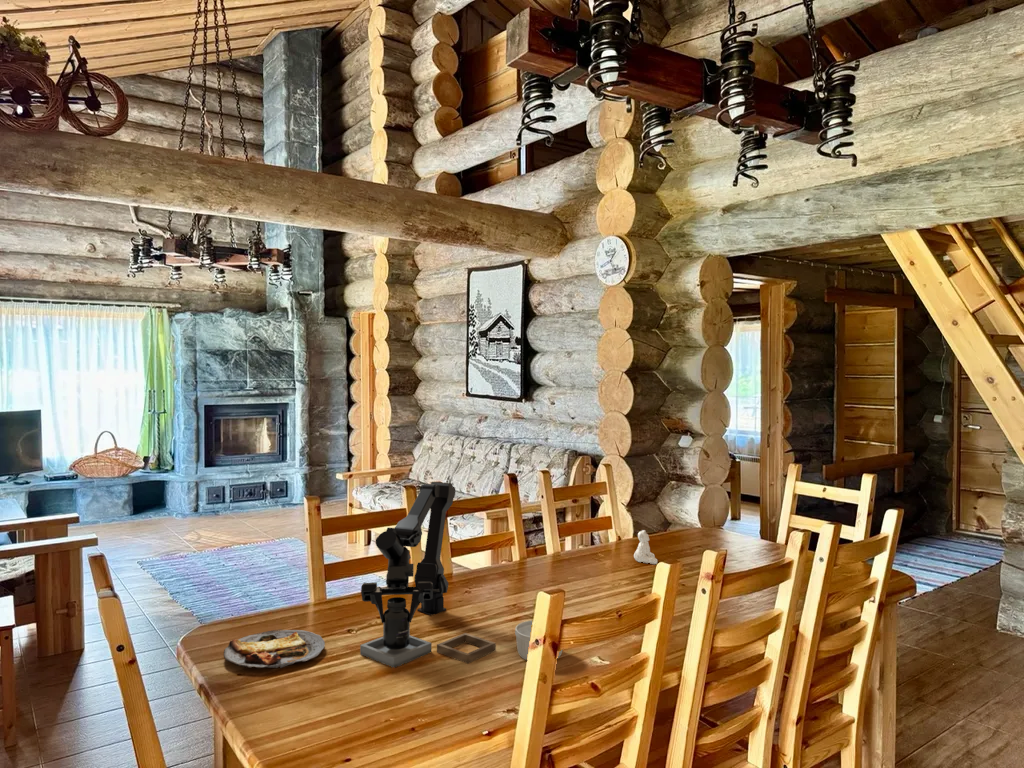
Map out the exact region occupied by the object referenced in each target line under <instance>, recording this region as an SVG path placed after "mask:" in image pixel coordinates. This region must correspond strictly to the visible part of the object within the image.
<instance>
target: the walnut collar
mask: <svg viewBox="0 0 1024 768" xmlns="http://www.w3.org/2000/svg"><path fill="white" fill-rule="evenodd" d="M465 643H467V644H471V645H473V646H476V647H479V648H476V649H474V650H472V651H470V652H468V653H467V652H465V651H462V650H459V649H456V648H455V647H457V646H459V645H462V644H465ZM452 647H453V648H452ZM496 651H497V642H494V641H491V640H488V639H485V638H482V637H479V636H476V635H474V634H470V633H468V632H464V633H462V634H458V635H457V636H454V637H452V638H450V639H447V640H445V641H442V642H439V643H438V644H436V653H438V654H441V655H443V654H444V655H443V656H446V657H449V658H451V657H452V658H451V659H454V658H455V660H457V659H458V660H457V661H460V662H463V663H465V664H469V663H472V662H474V661H476V660H478V659H481V658H483V657H485V656H486V655H489V654H491V653H494V652H496Z"/></svg>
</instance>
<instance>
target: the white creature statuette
mask: <svg viewBox="0 0 1024 768" xmlns="http://www.w3.org/2000/svg"><path fill="white" fill-rule="evenodd" d="M637 538H638V540H639V543H638V545H637V548H636V550H635V551H634V554H633V558H634V560H635V561H636V562H638V563H641V562H643V563H642V564H648V563H650V564H649V565H657V564H658V559H657V558H656V557H655V554H654V553H653V552H651V547H650V544H649V541H650V536H649V534H648V533H647V532H646V530H645V529H642V530H640V531H639V532H638V533H637Z"/></svg>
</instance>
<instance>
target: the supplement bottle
mask: <svg viewBox="0 0 1024 768" xmlns="http://www.w3.org/2000/svg"><path fill="white" fill-rule="evenodd" d="M406 600H407V599H406V598H404V597H401V596H396V597H391V598H390V597H389V598H388V599H387V603H386V608H387V609H386V610H385V611H383V614H384V622H383V623H382V624H383V630H382V631H383V634H382V635H383V636H382V637H383V644H384V646H385V647H386V648H388V649H392V650H398V649H403V648H406V647H407V646H408V645H409V641H410V635H411V634H410V627H411V625H410V623H411V622H409V614H410V610H408V608H406V607H407V601H406Z"/></svg>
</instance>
